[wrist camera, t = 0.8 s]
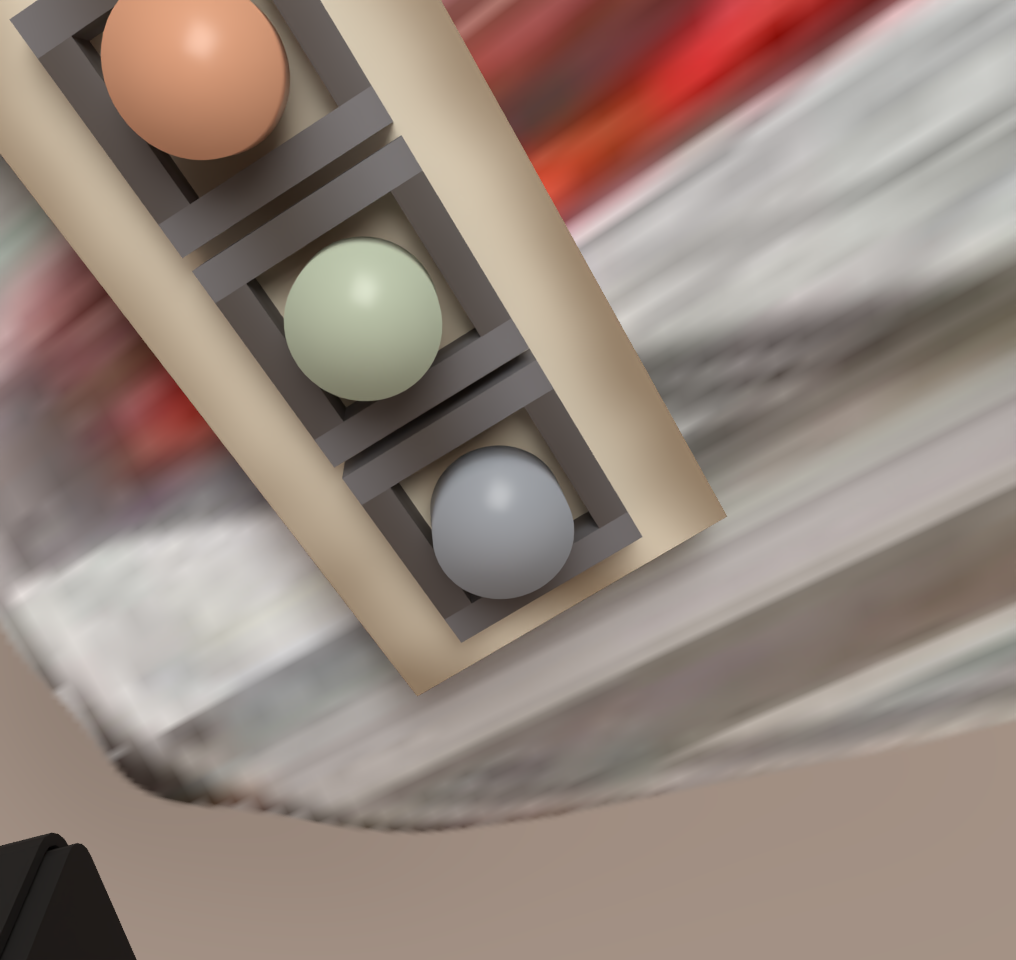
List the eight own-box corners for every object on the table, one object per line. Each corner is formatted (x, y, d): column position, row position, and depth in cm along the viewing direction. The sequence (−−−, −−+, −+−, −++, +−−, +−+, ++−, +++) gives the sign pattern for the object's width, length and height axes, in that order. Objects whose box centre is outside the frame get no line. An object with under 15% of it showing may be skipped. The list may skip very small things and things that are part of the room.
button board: (308, -218, 26) (291, -283, 22) (700, 483, 34) (742, 534, 30) (-51, 31, 27) (-133, 14, 23) (415, 650, 35) (418, 721, 31)
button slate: (520, 420, 28) (529, 441, 26) (586, 525, 29) (599, 553, 27) (404, 490, 28) (404, 516, 26) (475, 591, 30) (480, 623, 28)
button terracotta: (225, -52, 23) (210, -67, 21) (322, 102, 24) (315, 101, 22) (89, 40, 23) (62, 33, 21) (192, 187, 25) (175, 193, 23)
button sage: (386, 207, 25) (386, 214, 24) (466, 333, 27) (471, 349, 25) (261, 287, 26) (251, 300, 24) (346, 408, 27) (342, 428, 25)
